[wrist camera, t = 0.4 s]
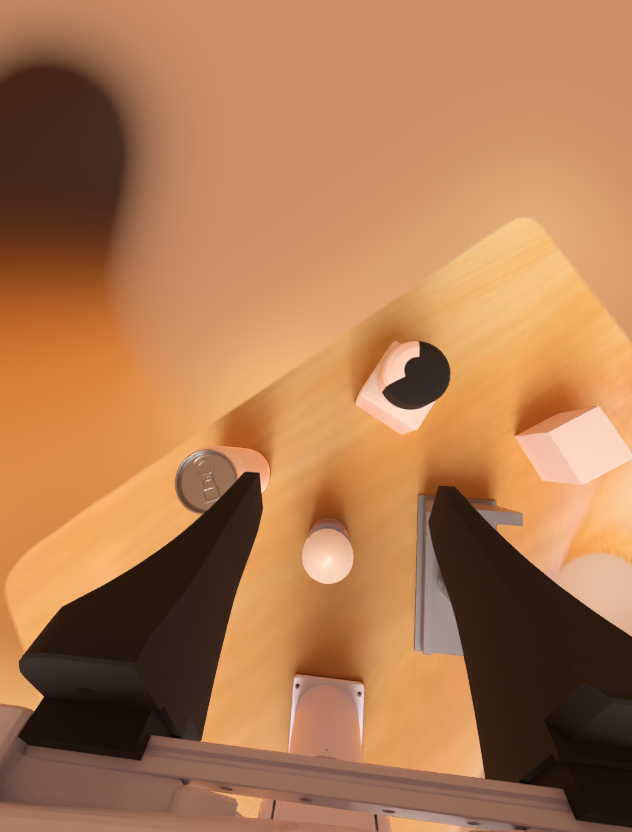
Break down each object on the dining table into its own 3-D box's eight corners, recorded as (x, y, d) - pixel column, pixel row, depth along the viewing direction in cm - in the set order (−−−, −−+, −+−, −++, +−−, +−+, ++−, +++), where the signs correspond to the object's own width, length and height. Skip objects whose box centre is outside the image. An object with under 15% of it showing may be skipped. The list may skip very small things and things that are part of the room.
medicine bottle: (431, 389, 38) (475, 358, 26) (401, 435, 38) (433, 426, 26) (383, 359, 39) (404, 317, 27) (353, 405, 39) (362, 382, 27)
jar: (349, 563, 36) (352, 586, 30) (305, 559, 36) (299, 581, 30) (351, 518, 37) (354, 531, 30) (309, 515, 37) (303, 527, 31)
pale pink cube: (541, 480, 36) (582, 485, 30) (513, 436, 37) (548, 432, 31) (585, 457, 36) (635, 457, 30) (556, 413, 37) (599, 405, 31)
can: (263, 441, 39) (231, 435, 27) (277, 491, 38) (250, 507, 26) (215, 457, 39) (162, 456, 27) (228, 506, 38) (179, 529, 26)
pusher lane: (496, 658, 34) (532, 703, 27) (414, 648, 34) (432, 691, 28) (494, 500, 36) (528, 509, 30) (418, 494, 37) (435, 502, 30)
